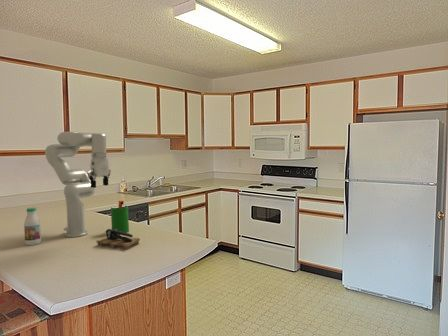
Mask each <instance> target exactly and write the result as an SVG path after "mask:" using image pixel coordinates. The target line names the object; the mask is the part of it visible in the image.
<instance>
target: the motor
mask: <svg viewBox="0 0 448 336" xmlns="http://www.w3.org/2000/svg"><path fill="white" fill-rule="evenodd" d="M123 205H124V200H119V201H118V207H117V208H116V207H110V217H111V219H110V221H111V229H113V230H115V229H117V231H123V232H126V233H129V232H130V224H129V223H130V222H129V221H130V220H129V206H128V205H125V206H124V207H123Z"/></svg>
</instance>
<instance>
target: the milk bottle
mask: <svg viewBox="0 0 448 336" xmlns="http://www.w3.org/2000/svg"><path fill="white" fill-rule="evenodd" d="M26 213H27V214H26V218H25V219H24V223H23V228H24V230H23V231H24V244H25V246H35V245H39V244H40V243H42V232H41V230H42V229H41V221H40V219H39V217H38V215H37V207H34V206H33V207H28V208H26Z"/></svg>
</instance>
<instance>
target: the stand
mask: <svg viewBox="0 0 448 336" xmlns="http://www.w3.org/2000/svg"><path fill="white" fill-rule="evenodd" d="M125 237H126V238H129V239H132V241H131V242H128V241H124V240H121V239H118V238H115V239H108V238H107V236H105V237H101V238H100V239H97V240H96V242H95V243H97V247H103V246H106V245H109V248H110V249H115V248H117V247H119V246H121V249H122V250H124V251H125V250H128V249H131V248H132V247H135V246H137V245H139V243H140V240H141V239H140V238H139V237H128V236H125Z"/></svg>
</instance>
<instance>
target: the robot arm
mask: <svg viewBox="0 0 448 336" xmlns="http://www.w3.org/2000/svg"><path fill="white" fill-rule="evenodd" d="M56 139H57V142H58V143H53V144H49V145H47V146H46V148H45V150H44V152H45V159H46V160H47V162H48V164H49V165H50V166H51V167H52V169H53V170H54V171H55V174H56V176H57V177H58V179H59V181H60V182H61V184H62V185H63V186H64V185H65V186H64V189H63V193H64V194H63V195H64V198H65V202H66V203H65V205H66V222H67V223H66V224H67V225H66V226H65V227H64V228H63V231H66V232H65V233H64V236H65V237H67V238H78V237H83V236H86V235H87V234H88V230H85V229H86V228H85V227H86V226H85V225H86V224H85V207H84V203H83V201H82V200H81V199H82V198H89V197H92V196H93V195H94V194H95V191H96V190H95V188H97V180H96V179H97V177H99V178H100V177H102V185H103V186H109V178H110V176H111V171H112V170H111V169H110V167H109V166H110V165H109V160H108V158H107V136H106V134H105V133H98V132H97V133H96V132H78V131H62V132H60V133H59V134H58V135H57V138H56ZM81 147H91V160H90V167H89V169H90V170H89V171H87V172H86V170H84V169H82V168H71V167H70V165H69V163H68V162H67V161H65V159H63V158H73V157H75V156H76V155H77V154H78V152H79V150H80V148H81Z"/></svg>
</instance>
